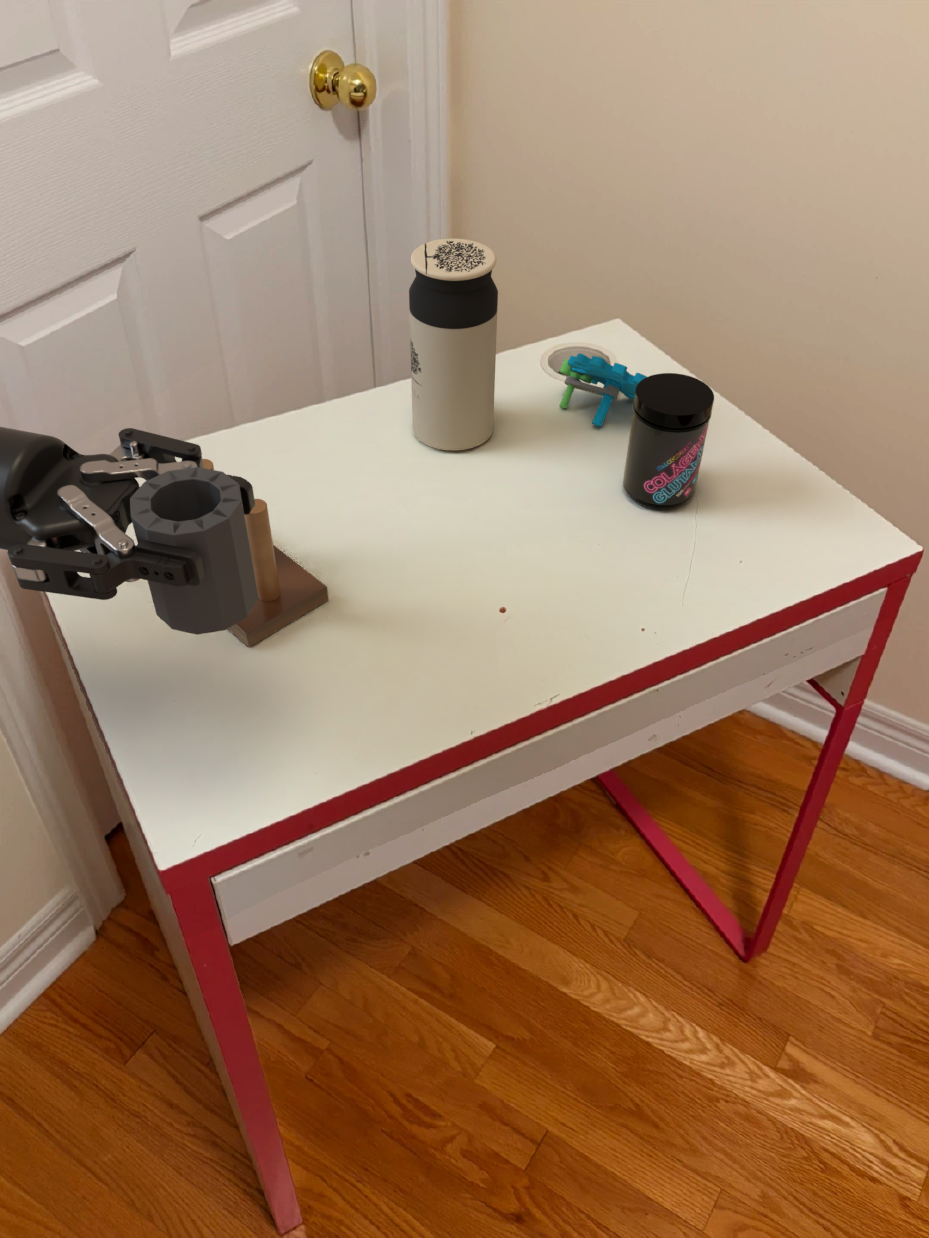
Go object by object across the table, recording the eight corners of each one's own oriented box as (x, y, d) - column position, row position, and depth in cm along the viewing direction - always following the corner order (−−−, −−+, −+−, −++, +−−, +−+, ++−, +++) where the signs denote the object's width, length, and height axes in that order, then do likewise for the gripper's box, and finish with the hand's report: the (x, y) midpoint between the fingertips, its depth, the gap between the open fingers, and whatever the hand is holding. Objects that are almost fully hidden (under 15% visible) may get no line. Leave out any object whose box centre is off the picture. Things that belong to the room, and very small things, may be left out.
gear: (681, 398, 105) (643, 361, 97) (658, 453, 106) (619, 420, 97) (590, 374, 111) (547, 337, 103) (568, 426, 112) (524, 393, 103)
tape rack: (329, 600, 86) (318, 498, 79) (249, 648, 82) (229, 545, 75) (243, 532, 92) (225, 432, 85) (164, 574, 88) (139, 472, 81)
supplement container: (623, 512, 95) (637, 413, 88) (619, 467, 100) (633, 371, 92) (698, 515, 95) (719, 417, 87) (690, 471, 100) (710, 374, 92)
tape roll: (231, 642, 65) (211, 542, 59) (137, 622, 66) (109, 522, 60) (273, 577, 69) (258, 478, 64) (184, 558, 70) (162, 460, 65)
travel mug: (496, 410, 107) (502, 239, 94) (489, 456, 101) (495, 279, 88) (418, 405, 107) (414, 234, 95) (407, 450, 101) (401, 274, 89)
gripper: (-114, 503, 58) (158, 559, 55) (31, 375, 68) (268, 415, 65) (-68, 602, 64) (182, 658, 60) (61, 469, 74) (281, 511, 70)
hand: (226, 532), depth 63 cm, fingers closed on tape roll, 6 cm apart
